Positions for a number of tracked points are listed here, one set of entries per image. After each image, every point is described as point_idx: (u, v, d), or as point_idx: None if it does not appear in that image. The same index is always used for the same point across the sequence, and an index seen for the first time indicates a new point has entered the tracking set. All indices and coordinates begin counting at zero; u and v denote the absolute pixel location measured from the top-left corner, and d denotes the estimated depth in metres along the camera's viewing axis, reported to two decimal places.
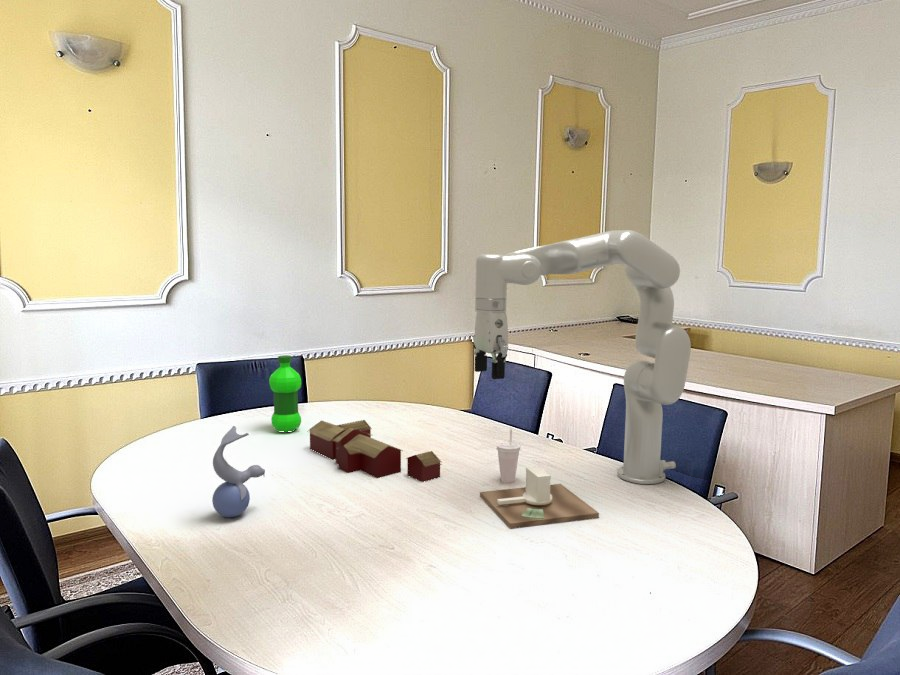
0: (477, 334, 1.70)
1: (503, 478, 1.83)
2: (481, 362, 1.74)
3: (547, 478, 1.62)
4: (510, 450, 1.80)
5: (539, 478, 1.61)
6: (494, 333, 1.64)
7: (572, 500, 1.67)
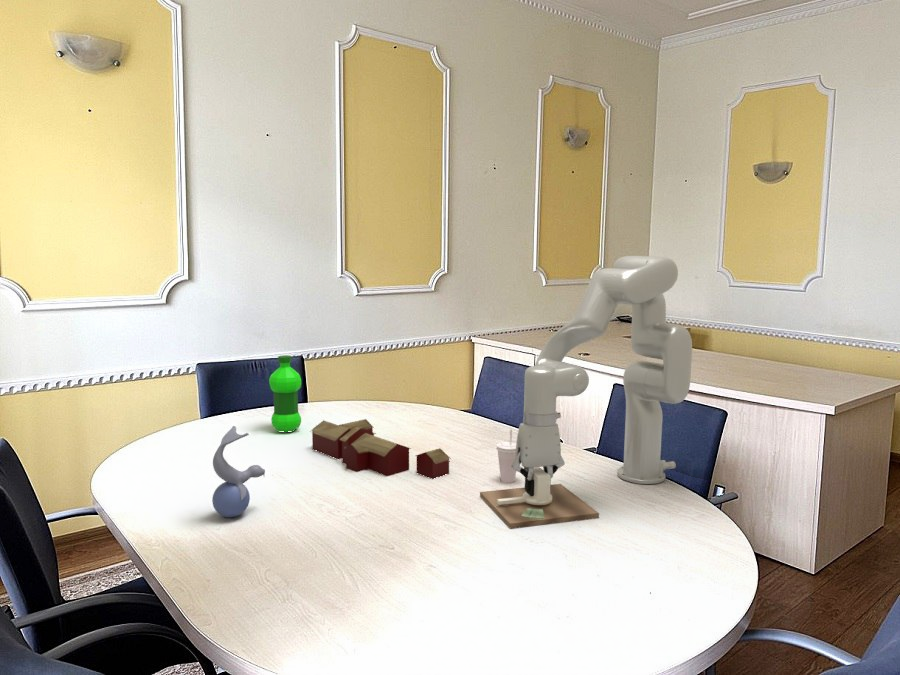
0: (533, 452, 1.61)
1: (503, 478, 1.83)
2: None
3: (547, 478, 1.62)
4: (510, 450, 1.80)
5: (539, 478, 1.61)
6: None
7: (572, 500, 1.67)
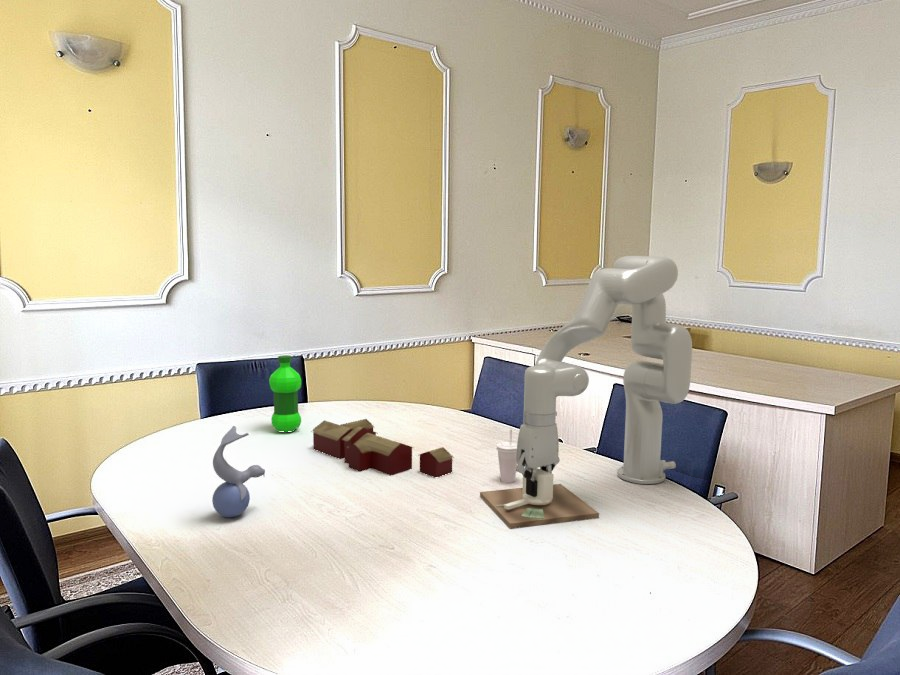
0: (537, 453, 1.61)
1: (503, 478, 1.83)
2: None
3: (551, 476, 1.63)
4: (510, 450, 1.80)
5: (544, 478, 1.62)
6: None
7: (572, 500, 1.67)
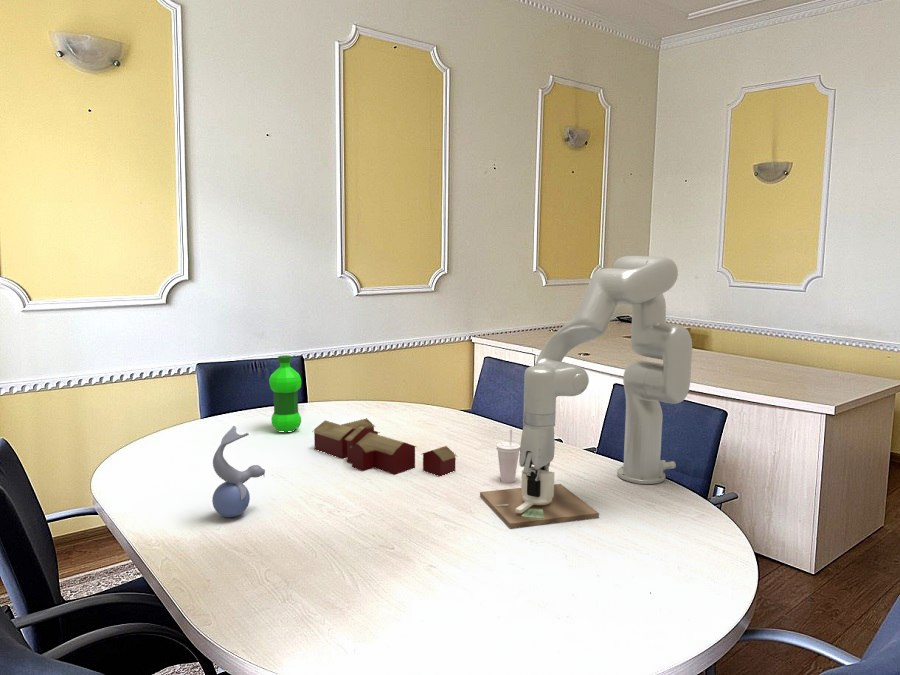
0: (542, 453, 1.61)
1: (503, 478, 1.83)
2: None
3: (553, 475, 1.64)
4: (510, 450, 1.80)
5: (549, 477, 1.62)
6: None
7: (572, 500, 1.67)
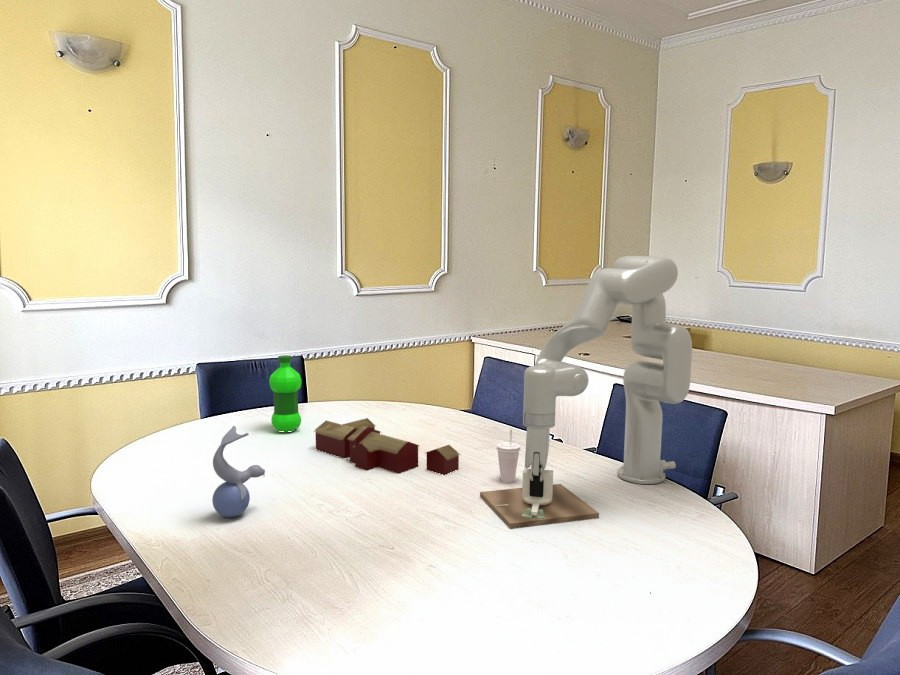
0: (547, 452, 1.62)
1: (503, 478, 1.83)
2: None
3: None
4: (510, 450, 1.80)
5: (552, 475, 1.63)
6: None
7: (572, 500, 1.67)
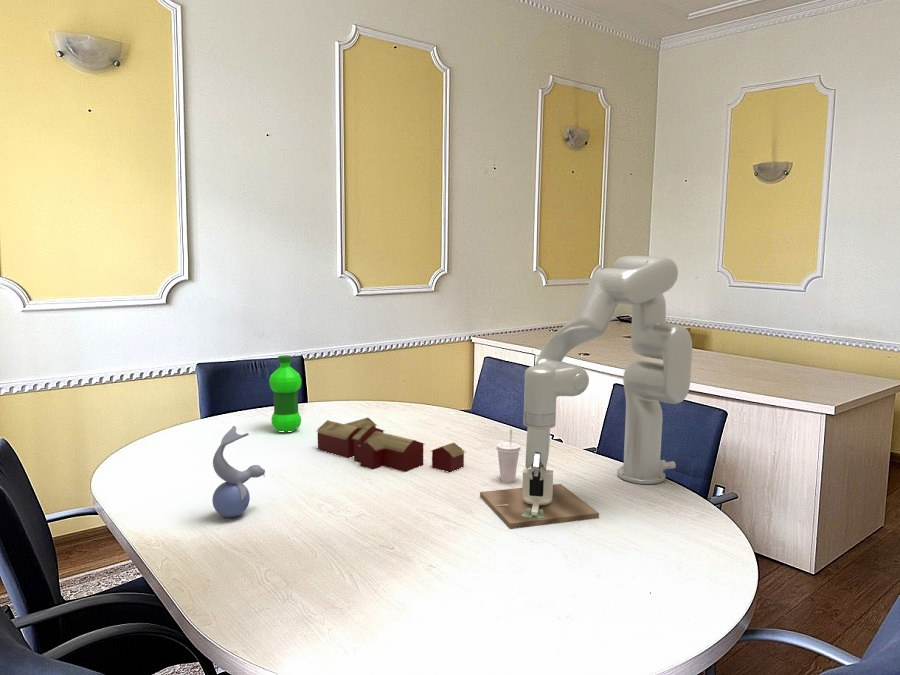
0: (548, 452, 1.61)
1: (503, 478, 1.83)
2: None
3: None
4: (510, 450, 1.80)
5: (552, 475, 1.63)
6: None
7: (572, 500, 1.67)
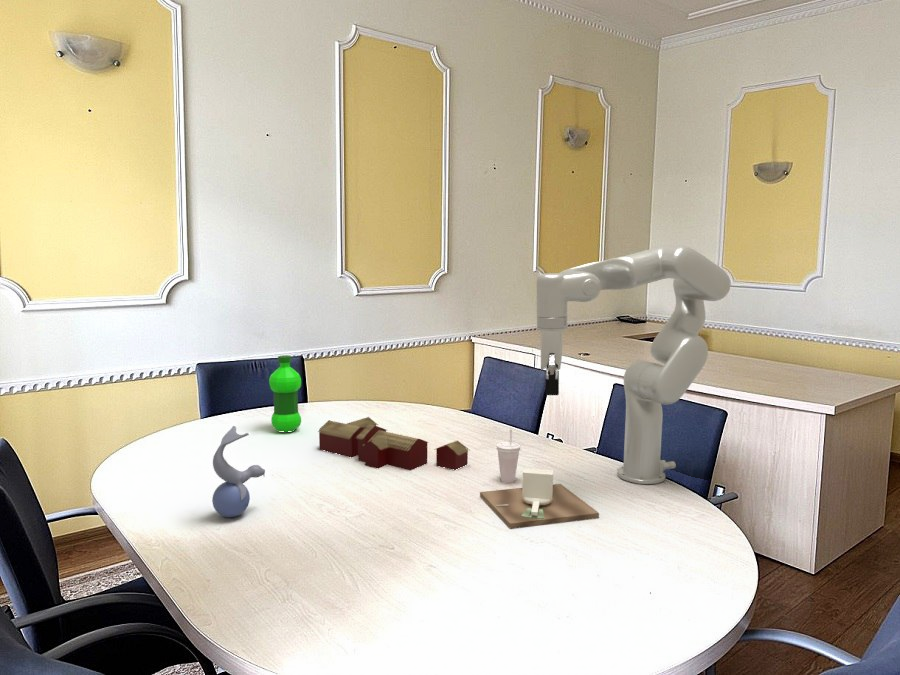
0: (561, 353, 1.71)
1: (503, 478, 1.83)
2: None
3: None
4: (510, 450, 1.80)
5: (552, 475, 1.63)
6: None
7: (572, 500, 1.67)
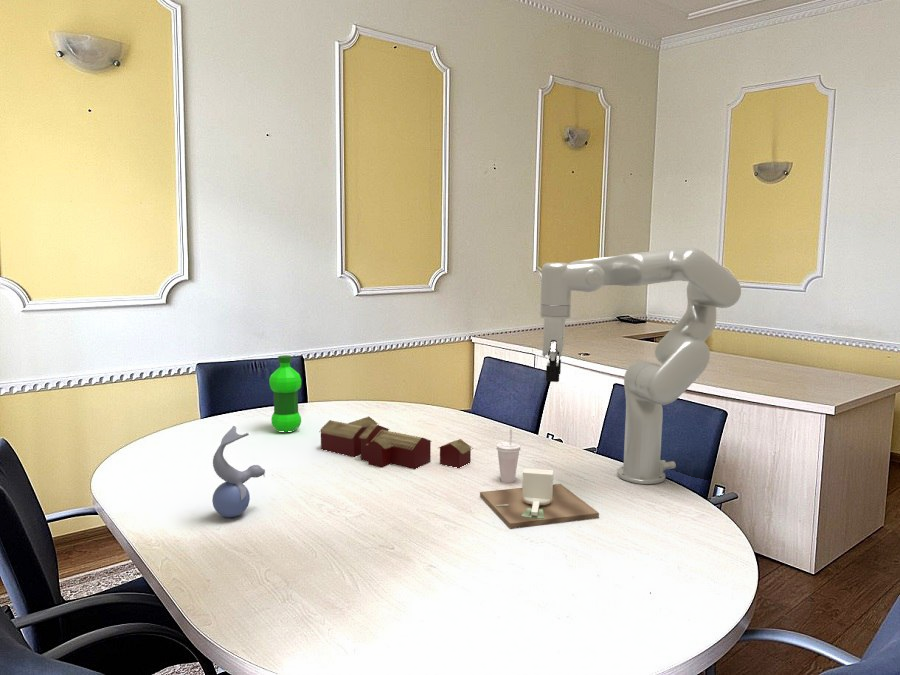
0: (563, 341, 1.74)
1: (503, 478, 1.83)
2: None
3: None
4: (510, 450, 1.80)
5: (552, 475, 1.63)
6: None
7: (572, 500, 1.67)
